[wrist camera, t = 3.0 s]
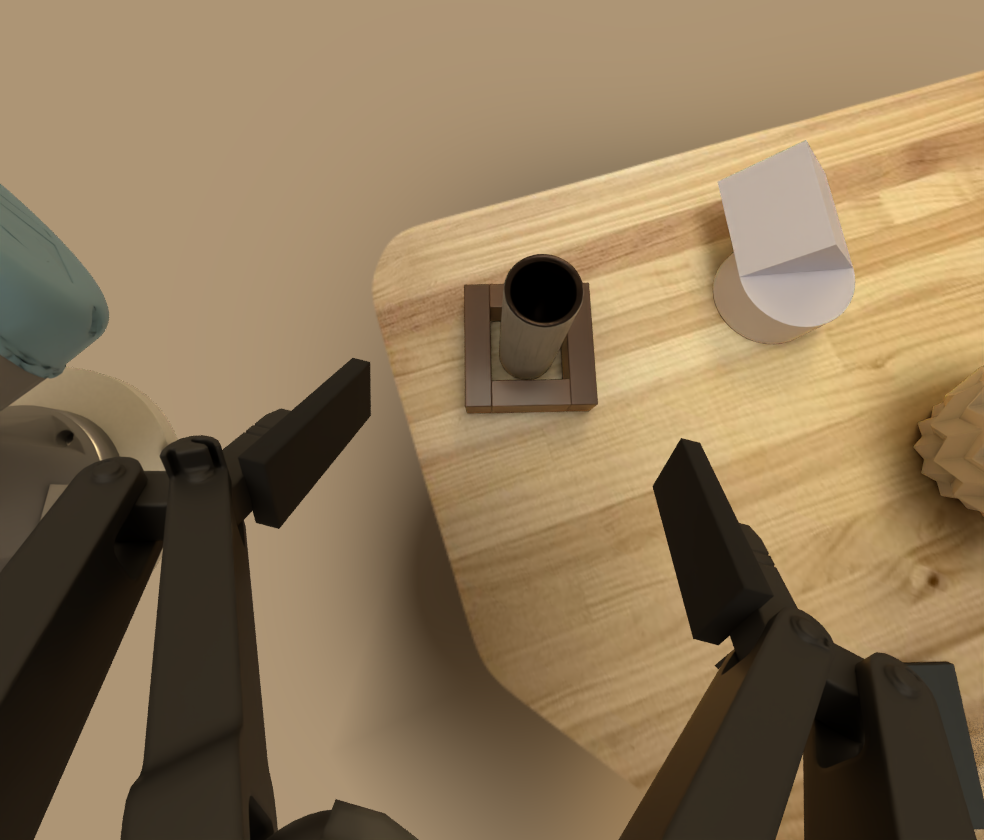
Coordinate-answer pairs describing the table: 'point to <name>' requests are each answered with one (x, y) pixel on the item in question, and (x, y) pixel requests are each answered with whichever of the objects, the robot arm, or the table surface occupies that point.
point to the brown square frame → (525, 394)
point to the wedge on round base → (782, 250)
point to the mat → (955, 731)
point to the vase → (957, 443)
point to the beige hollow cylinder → (537, 313)
